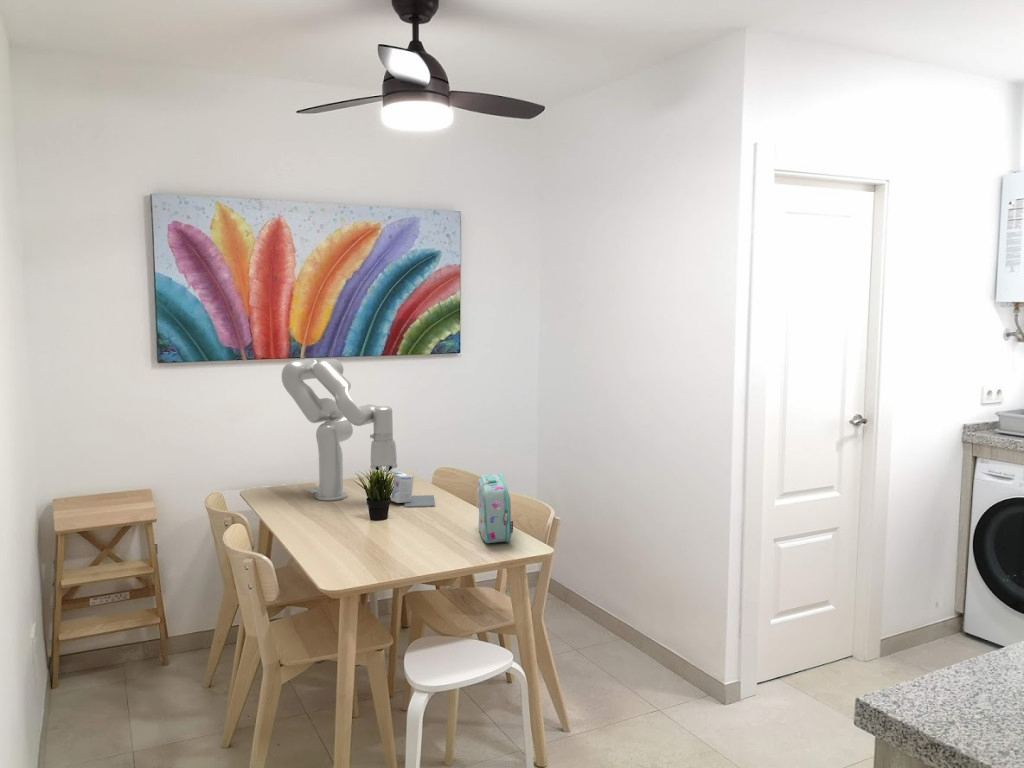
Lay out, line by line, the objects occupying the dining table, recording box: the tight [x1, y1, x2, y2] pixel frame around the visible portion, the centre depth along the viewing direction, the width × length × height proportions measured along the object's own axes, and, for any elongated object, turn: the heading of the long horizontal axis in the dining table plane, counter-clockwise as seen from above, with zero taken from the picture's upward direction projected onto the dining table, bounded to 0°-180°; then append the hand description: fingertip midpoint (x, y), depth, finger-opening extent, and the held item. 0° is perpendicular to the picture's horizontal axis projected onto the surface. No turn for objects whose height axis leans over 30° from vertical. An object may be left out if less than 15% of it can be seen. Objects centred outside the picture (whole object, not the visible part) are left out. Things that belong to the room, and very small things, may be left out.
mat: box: [404, 494, 436, 508], centre depth 317 cm, size 12×16×1 cm
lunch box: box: [477, 473, 514, 544], centre depth 271 cm, size 27×10×21 cm, turn 8°
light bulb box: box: [388, 471, 414, 504], centre depth 315 cm, size 11×7×11 cm, turn 42°
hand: (384, 482), depth 314 cm, fingers closed
